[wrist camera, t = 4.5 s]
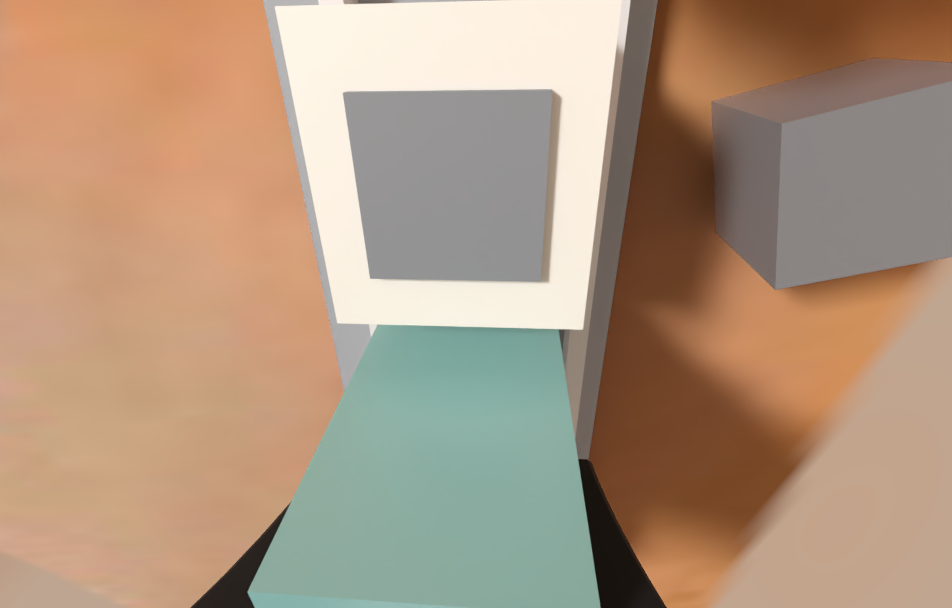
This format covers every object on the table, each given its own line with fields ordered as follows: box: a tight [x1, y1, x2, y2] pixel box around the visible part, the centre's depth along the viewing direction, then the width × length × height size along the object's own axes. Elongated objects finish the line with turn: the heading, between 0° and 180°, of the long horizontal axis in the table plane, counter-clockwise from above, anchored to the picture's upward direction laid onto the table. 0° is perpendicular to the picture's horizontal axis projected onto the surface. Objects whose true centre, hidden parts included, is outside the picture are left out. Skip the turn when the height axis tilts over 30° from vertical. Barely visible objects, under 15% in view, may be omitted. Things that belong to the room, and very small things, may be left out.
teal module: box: [248, 324, 601, 608], centre depth 10 cm, size 6×4×7 cm
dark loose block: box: [712, 58, 952, 290], centre depth 12 cm, size 4×4×4 cm
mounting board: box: [263, 0, 658, 460], centre depth 14 cm, size 22×10×7 cm, turn 1°
